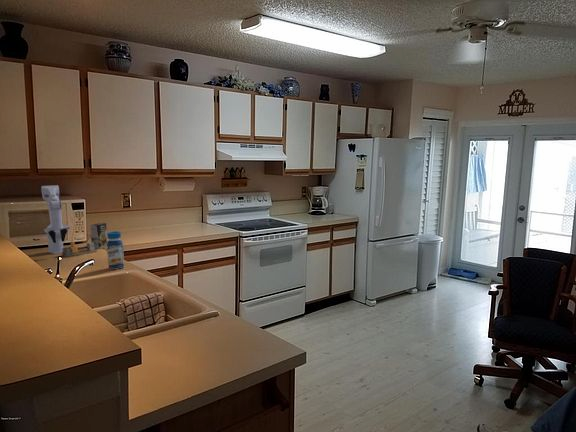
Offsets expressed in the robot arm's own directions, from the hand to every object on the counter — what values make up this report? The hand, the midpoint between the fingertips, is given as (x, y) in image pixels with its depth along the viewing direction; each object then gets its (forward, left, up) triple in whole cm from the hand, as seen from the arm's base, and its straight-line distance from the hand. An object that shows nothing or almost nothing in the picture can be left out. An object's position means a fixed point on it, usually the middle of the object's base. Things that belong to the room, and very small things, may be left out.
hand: (58, 242), depth 266 cm
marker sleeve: (+1, +8, -8) cm, 11 cm away
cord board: (+1, +12, -9) cm, 15 cm away
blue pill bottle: (+54, +6, -10) cm, 55 cm away
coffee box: (-6, +29, -10) cm, 31 cm away
